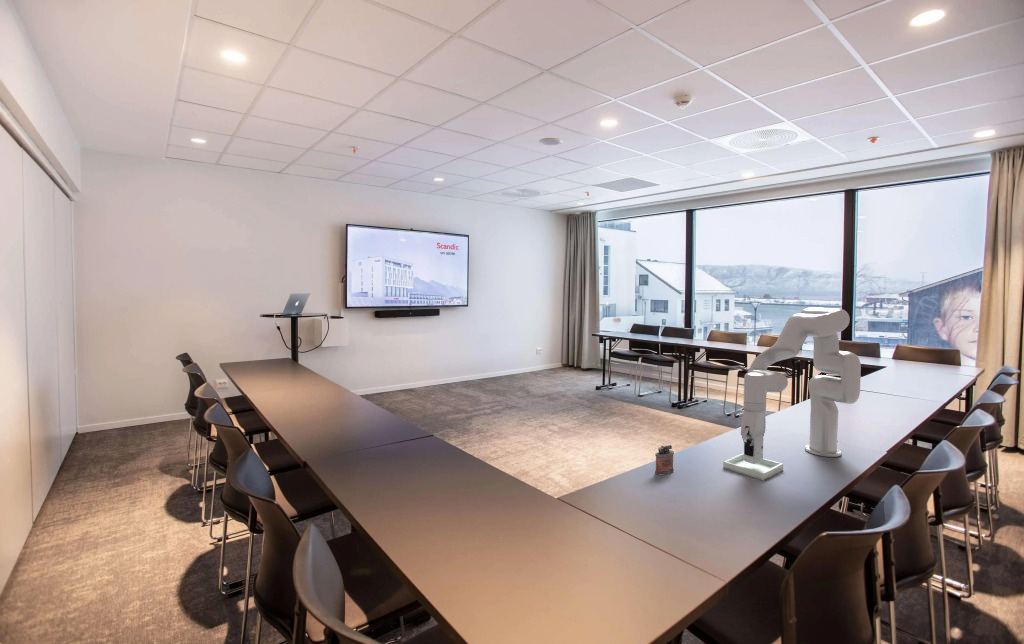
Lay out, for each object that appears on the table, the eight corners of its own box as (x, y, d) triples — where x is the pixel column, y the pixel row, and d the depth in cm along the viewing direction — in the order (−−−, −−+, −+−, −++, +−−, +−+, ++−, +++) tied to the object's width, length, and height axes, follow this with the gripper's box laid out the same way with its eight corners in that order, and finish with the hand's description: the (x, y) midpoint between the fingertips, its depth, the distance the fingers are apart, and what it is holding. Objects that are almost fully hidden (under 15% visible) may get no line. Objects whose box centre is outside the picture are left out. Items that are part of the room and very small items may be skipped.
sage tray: (743, 458, 190) (743, 452, 189) (783, 470, 178) (783, 463, 178) (723, 468, 181) (723, 461, 180) (763, 480, 169) (764, 473, 169)
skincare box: (754, 464, 175) (755, 432, 174) (742, 461, 179) (743, 429, 178) (763, 461, 179) (764, 429, 178) (751, 457, 182) (752, 426, 182)
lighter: (659, 476, 174) (660, 449, 173) (653, 472, 177) (653, 446, 176) (675, 471, 178) (676, 445, 177) (669, 468, 181) (669, 442, 180)
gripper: (755, 400, 186) (754, 445, 187) (732, 408, 175) (731, 455, 176) (776, 404, 180) (774, 451, 181) (753, 412, 169) (752, 461, 171)
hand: (753, 452), depth 179 cm, fingers closed on skincare box, 6 cm apart
